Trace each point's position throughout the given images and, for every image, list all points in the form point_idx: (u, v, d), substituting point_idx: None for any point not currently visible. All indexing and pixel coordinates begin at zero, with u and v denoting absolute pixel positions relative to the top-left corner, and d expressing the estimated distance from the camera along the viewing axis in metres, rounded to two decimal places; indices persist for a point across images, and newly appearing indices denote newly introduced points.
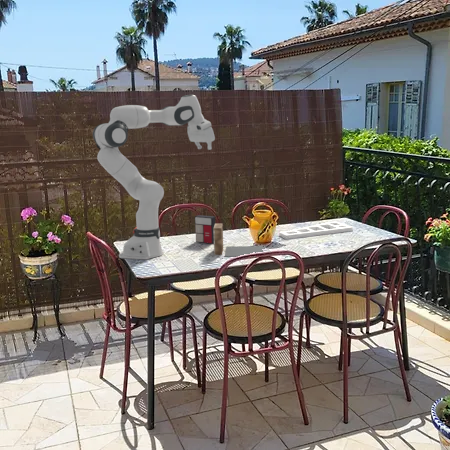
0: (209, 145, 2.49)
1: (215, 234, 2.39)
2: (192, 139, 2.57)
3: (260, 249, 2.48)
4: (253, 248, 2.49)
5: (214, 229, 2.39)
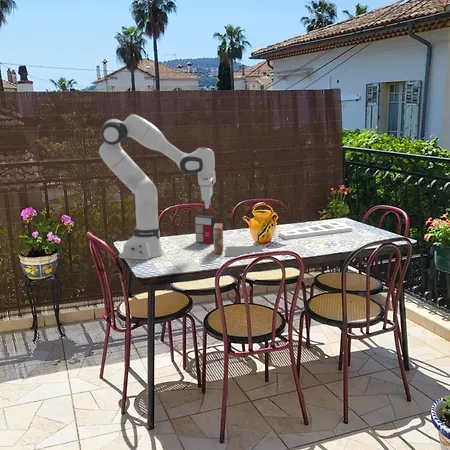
0: (206, 203, 2.36)
1: (215, 234, 2.39)
2: None
3: (260, 249, 2.48)
4: (253, 248, 2.49)
5: (214, 229, 2.39)
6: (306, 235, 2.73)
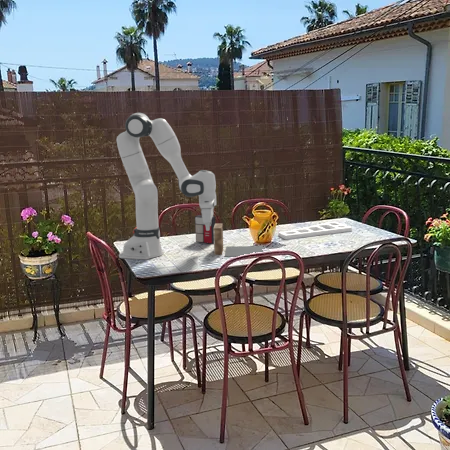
0: (206, 226, 2.38)
1: (215, 234, 2.39)
2: None
3: (260, 249, 2.48)
4: (253, 248, 2.49)
5: (214, 229, 2.39)
6: (306, 235, 2.72)
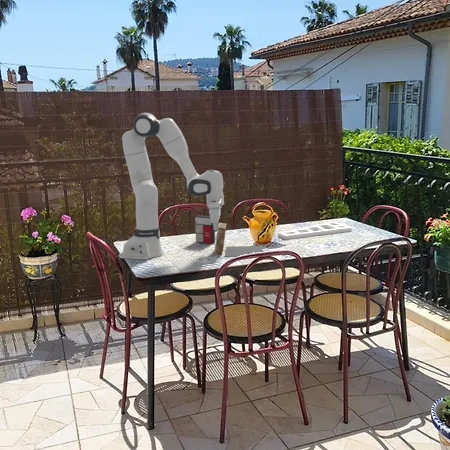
0: (214, 225, 2.38)
1: (218, 233, 2.39)
2: None
3: (260, 249, 2.48)
4: (253, 248, 2.49)
5: (218, 228, 2.38)
6: (306, 235, 2.72)
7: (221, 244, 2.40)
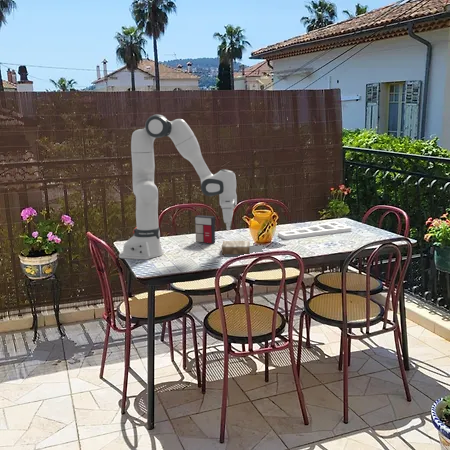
0: (227, 225, 2.37)
1: (242, 248, 2.40)
2: None
3: (260, 249, 2.48)
4: (253, 248, 2.49)
5: (248, 247, 2.40)
6: (305, 235, 2.72)
7: (232, 252, 2.41)
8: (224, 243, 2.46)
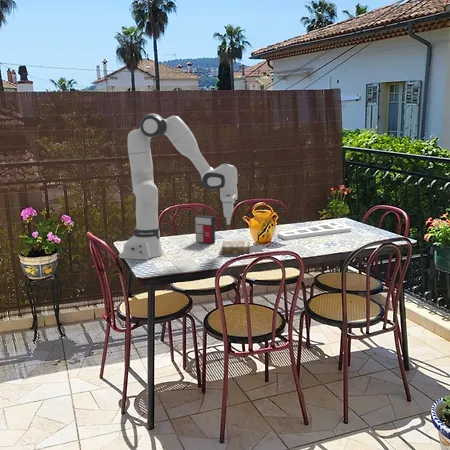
0: (227, 220, 2.37)
1: (242, 248, 2.40)
2: None
3: (260, 249, 2.48)
4: (253, 248, 2.49)
5: (248, 247, 2.40)
6: (305, 235, 2.72)
7: (232, 252, 2.41)
8: (224, 243, 2.46)
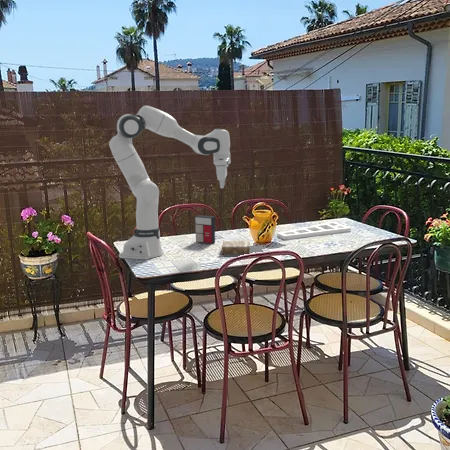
0: (221, 183, 2.42)
1: (242, 248, 2.40)
2: None
3: (260, 249, 2.48)
4: (253, 248, 2.49)
5: (248, 247, 2.40)
6: (305, 235, 2.72)
7: (232, 252, 2.41)
8: (224, 243, 2.46)
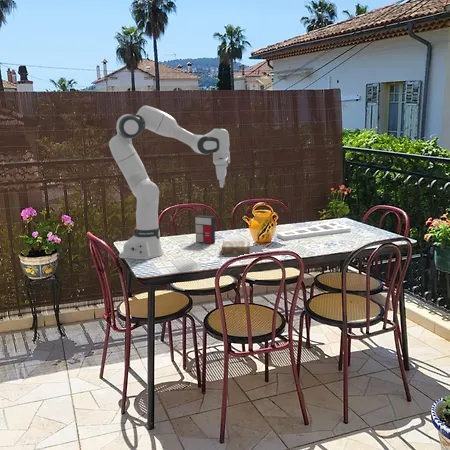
0: (220, 183, 2.43)
1: (242, 248, 2.40)
2: None
3: (260, 249, 2.48)
4: (253, 248, 2.49)
5: (248, 247, 2.40)
6: (304, 236, 2.71)
7: (232, 252, 2.41)
8: (224, 243, 2.46)
